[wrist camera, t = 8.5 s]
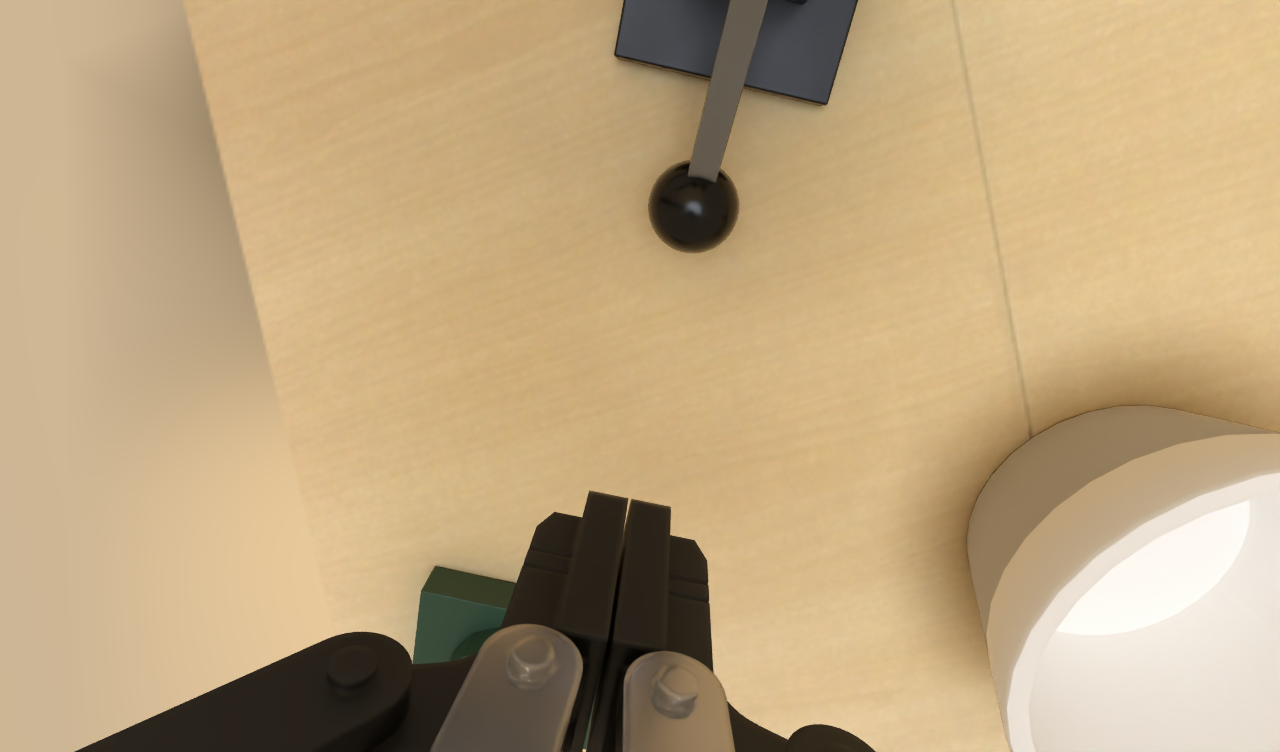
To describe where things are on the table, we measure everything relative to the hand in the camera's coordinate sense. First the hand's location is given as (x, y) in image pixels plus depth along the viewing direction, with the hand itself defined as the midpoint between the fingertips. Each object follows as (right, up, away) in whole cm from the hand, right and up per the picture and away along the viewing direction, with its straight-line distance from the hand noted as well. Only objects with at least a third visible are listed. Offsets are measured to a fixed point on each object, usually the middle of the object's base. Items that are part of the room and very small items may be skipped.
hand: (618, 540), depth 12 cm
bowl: (+25, -5, +23) cm, 34 cm away
